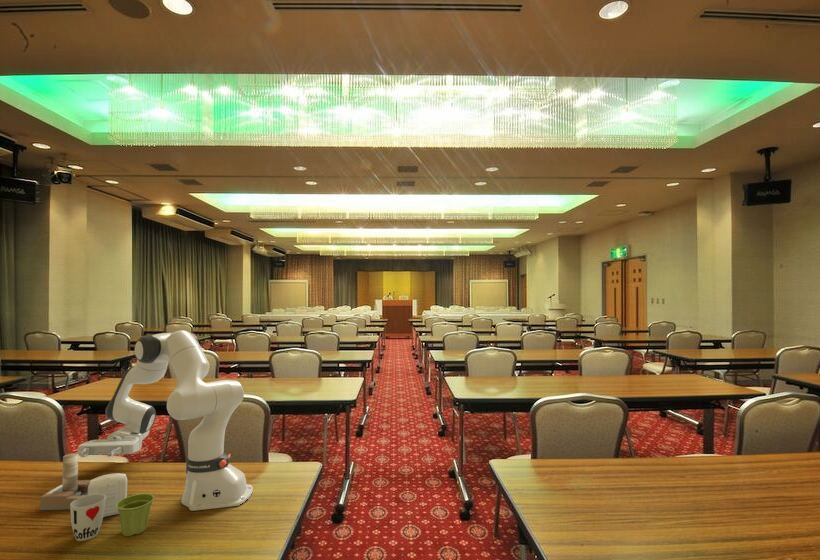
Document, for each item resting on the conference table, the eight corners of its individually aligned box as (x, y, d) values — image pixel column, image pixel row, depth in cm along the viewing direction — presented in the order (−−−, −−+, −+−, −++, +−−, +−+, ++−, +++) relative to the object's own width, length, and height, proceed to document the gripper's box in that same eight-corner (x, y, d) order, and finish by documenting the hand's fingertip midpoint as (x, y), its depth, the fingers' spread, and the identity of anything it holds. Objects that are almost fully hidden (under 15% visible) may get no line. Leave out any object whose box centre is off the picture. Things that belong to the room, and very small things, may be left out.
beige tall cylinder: (85, 492, 145) (86, 451, 145) (73, 501, 139) (74, 458, 139) (66, 493, 144) (67, 452, 145) (53, 502, 138) (54, 459, 139)
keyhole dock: (115, 491, 148) (115, 479, 149) (92, 508, 136) (92, 495, 137) (67, 492, 147) (68, 480, 147) (39, 510, 135) (40, 496, 136)
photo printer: (126, 507, 138) (127, 468, 138) (126, 513, 134) (127, 473, 134) (86, 516, 132) (88, 476, 132) (85, 522, 128) (87, 481, 129)
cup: (64, 546, 116) (66, 509, 116) (74, 531, 123) (75, 496, 124) (100, 540, 119) (101, 504, 119) (107, 525, 126) (108, 491, 127)
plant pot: (160, 523, 128) (161, 494, 128) (136, 541, 119) (137, 509, 119) (133, 521, 129) (134, 492, 130) (106, 538, 120) (107, 507, 120)
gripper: (92, 434, 168) (66, 446, 154) (145, 433, 169) (124, 445, 155) (91, 450, 167) (65, 464, 154) (145, 449, 169) (124, 462, 155)
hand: (96, 454), depth 155 cm, fingers open, 8 cm apart
